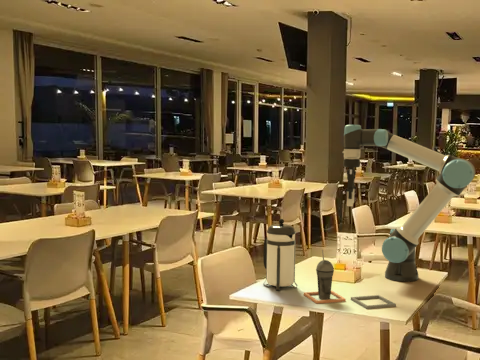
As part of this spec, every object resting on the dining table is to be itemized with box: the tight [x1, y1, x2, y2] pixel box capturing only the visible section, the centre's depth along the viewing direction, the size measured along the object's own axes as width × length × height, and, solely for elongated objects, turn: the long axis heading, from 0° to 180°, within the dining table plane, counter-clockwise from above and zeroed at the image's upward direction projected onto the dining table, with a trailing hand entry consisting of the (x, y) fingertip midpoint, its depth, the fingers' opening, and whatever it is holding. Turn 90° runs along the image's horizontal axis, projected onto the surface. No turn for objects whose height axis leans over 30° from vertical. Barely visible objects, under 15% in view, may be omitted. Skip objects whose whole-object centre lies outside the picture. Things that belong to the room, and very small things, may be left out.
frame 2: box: [350, 294, 397, 310], centre depth 223 cm, size 13×13×1 cm
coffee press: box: [263, 218, 298, 292], centre depth 246 cm, size 17×16×30 cm
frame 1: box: [303, 290, 347, 304], centre depth 229 cm, size 13×13×1 cm
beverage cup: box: [315, 249, 335, 300], centre depth 229 cm, size 7×7×20 cm
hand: (350, 204), depth 260 cm, fingers open, 13 cm apart
